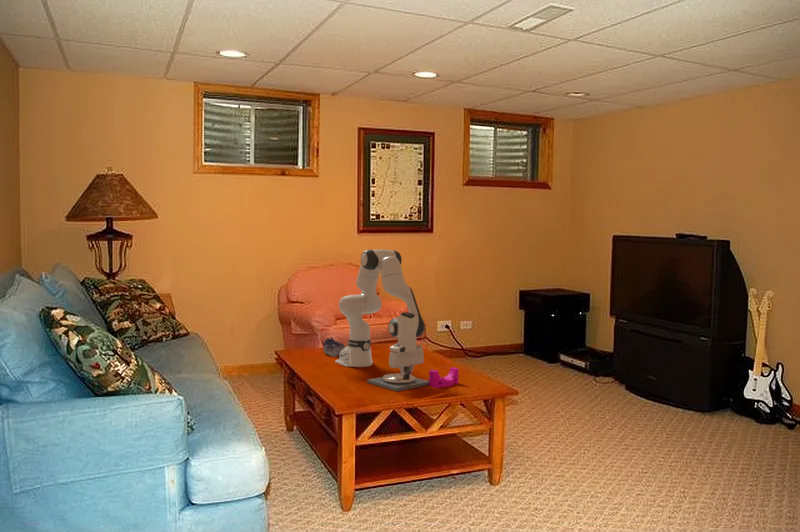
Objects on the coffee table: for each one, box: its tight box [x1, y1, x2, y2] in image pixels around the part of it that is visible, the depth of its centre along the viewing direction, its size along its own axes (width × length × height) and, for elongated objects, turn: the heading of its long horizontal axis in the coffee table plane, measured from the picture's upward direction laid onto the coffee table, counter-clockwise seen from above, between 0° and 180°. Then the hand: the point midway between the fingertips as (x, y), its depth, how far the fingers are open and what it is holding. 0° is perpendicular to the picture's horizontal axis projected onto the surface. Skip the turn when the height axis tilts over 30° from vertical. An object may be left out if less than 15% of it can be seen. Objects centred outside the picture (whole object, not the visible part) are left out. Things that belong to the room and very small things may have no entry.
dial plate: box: [366, 376, 430, 392], centre depth 322 cm, size 22×22×2 cm
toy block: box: [428, 367, 459, 389], centre depth 322 cm, size 15×6×8 cm, turn 123°
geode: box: [322, 336, 346, 358], centre depth 391 cm, size 20×12×10 cm, turn 30°
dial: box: [382, 366, 416, 384], centre depth 322 cm, size 16×16×8 cm
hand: (406, 374), depth 318 cm, fingers closed on dial, 3 cm apart
